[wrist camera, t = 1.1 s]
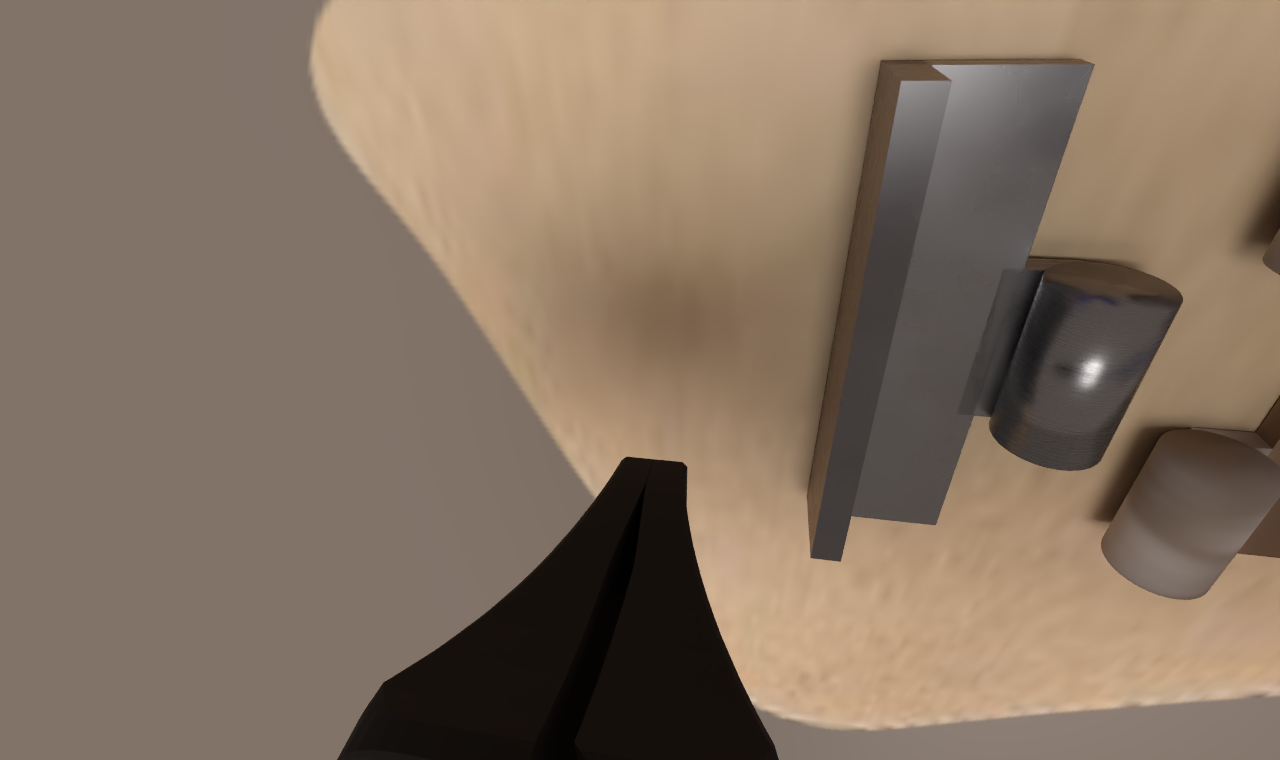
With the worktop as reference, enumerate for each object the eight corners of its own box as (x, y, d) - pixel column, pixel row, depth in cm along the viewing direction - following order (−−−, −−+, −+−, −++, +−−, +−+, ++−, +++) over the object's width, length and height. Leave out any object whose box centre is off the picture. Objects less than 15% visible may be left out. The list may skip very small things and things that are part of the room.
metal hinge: (1239, 58, 14) (1339, 81, 12) (1027, 519, 23) (1058, 589, 20) (881, 60, 15) (901, 81, 13) (806, 496, 24) (810, 560, 21)
